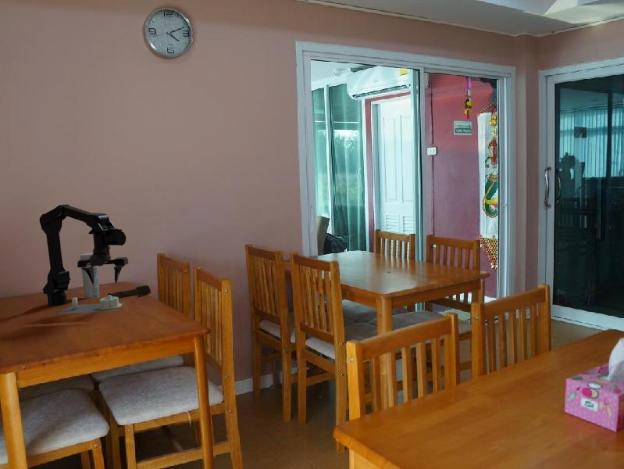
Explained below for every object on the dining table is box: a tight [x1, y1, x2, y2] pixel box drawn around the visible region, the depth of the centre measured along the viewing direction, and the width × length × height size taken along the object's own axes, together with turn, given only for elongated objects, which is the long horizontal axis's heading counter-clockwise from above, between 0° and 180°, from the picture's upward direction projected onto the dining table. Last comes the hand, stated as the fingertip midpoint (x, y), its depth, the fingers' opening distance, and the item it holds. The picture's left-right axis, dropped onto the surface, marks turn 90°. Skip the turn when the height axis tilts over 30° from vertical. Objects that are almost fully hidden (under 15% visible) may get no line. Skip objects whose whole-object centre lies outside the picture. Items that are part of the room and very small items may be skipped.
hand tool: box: [107, 284, 152, 299], centre depth 251 cm, size 19×4×5 cm, turn 127°
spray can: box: [79, 252, 100, 299], centre depth 253 cm, size 6×6×20 cm
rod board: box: [58, 294, 125, 315], centre depth 230 cm, size 22×14×6 cm, turn 91°
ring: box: [99, 296, 120, 308], centre depth 230 cm, size 7×7×3 cm
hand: (104, 283), depth 230 cm, fingers open, 9 cm apart
